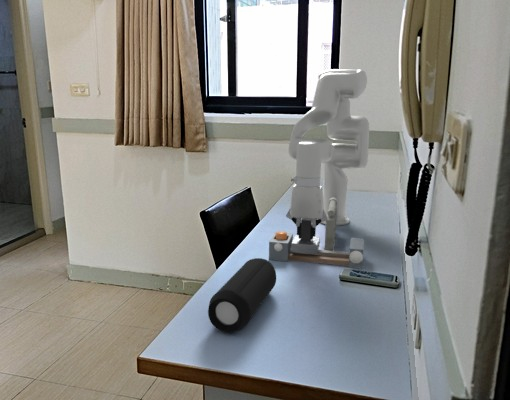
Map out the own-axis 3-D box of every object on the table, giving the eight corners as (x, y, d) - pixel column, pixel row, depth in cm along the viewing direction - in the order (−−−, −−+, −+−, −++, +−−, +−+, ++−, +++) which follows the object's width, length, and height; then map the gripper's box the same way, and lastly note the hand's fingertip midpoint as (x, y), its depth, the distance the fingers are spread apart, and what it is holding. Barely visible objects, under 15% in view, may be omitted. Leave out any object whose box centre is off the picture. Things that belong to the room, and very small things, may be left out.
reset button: (276, 242, 153) (276, 230, 152) (287, 243, 152) (287, 231, 151) (274, 246, 149) (274, 234, 148) (285, 247, 149) (286, 235, 148)
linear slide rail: (274, 248, 157) (275, 232, 156) (362, 256, 151) (363, 239, 149) (268, 259, 147) (268, 242, 146) (362, 268, 141) (363, 250, 139)
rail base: (274, 249, 156) (274, 242, 155) (362, 257, 150) (363, 250, 149) (269, 258, 149) (269, 251, 148) (362, 267, 142) (362, 259, 141)
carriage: (295, 243, 154) (296, 214, 151) (319, 245, 152) (320, 216, 150) (291, 252, 146) (292, 221, 144) (316, 254, 145) (318, 223, 142)
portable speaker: (244, 286, 128) (244, 252, 126) (278, 292, 125) (279, 257, 123) (204, 332, 105) (203, 291, 103) (245, 340, 102) (245, 298, 99)
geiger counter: (339, 211, 151) (340, 193, 175) (319, 210, 153) (323, 192, 176) (336, 251, 155) (338, 229, 179) (317, 250, 156) (322, 227, 180)
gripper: (279, 182, 142) (278, 239, 147) (333, 185, 138) (330, 243, 143) (283, 177, 149) (282, 232, 154) (335, 180, 145) (332, 236, 150)
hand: (306, 237), depth 148 cm, fingers closed on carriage, 3 cm apart
